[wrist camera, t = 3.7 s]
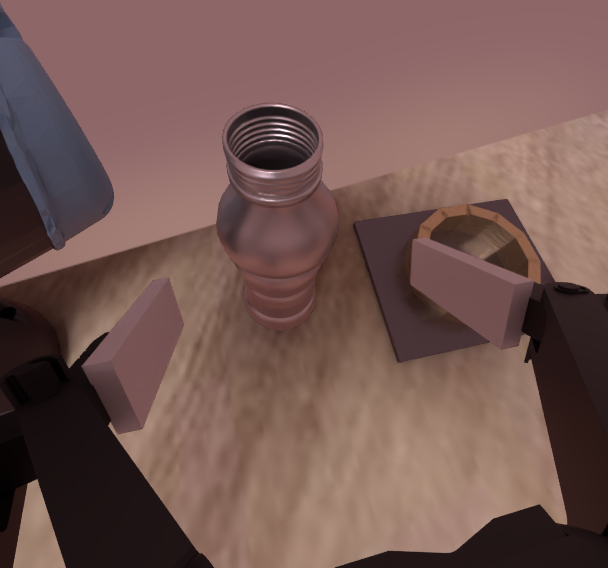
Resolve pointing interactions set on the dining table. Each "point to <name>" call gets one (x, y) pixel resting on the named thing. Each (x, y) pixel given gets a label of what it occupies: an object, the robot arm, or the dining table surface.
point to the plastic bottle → (276, 211)
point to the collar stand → (455, 234)
